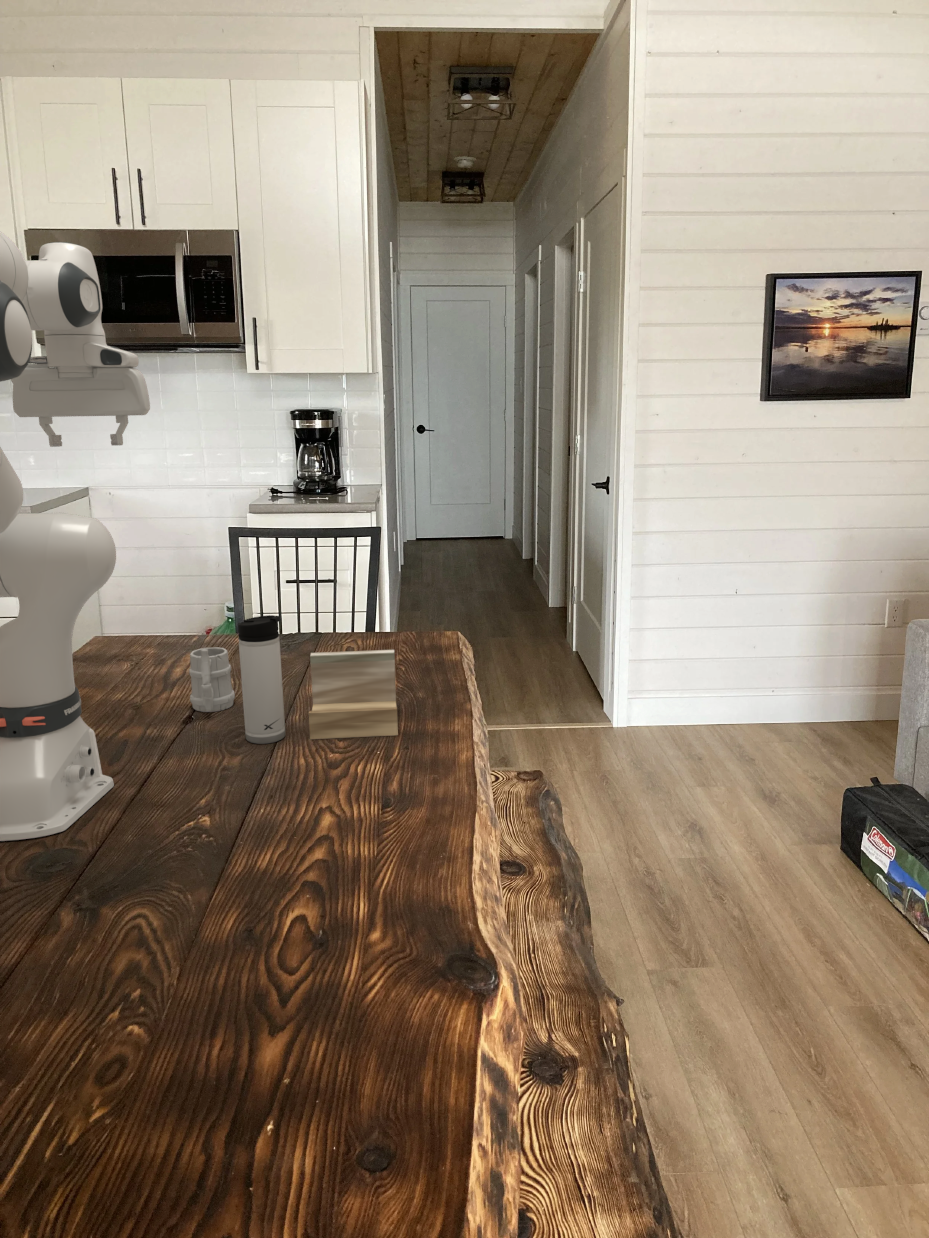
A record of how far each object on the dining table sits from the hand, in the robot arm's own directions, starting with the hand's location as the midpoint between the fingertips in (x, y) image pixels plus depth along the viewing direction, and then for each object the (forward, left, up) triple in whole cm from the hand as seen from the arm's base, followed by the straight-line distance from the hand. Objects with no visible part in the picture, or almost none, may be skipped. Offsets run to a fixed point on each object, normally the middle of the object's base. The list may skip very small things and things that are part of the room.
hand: (86, 446), depth 150 cm
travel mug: (-13, -27, -46) cm, 55 cm away
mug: (+2, -16, -46) cm, 49 cm away
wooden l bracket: (-9, -41, -46) cm, 62 cm away
